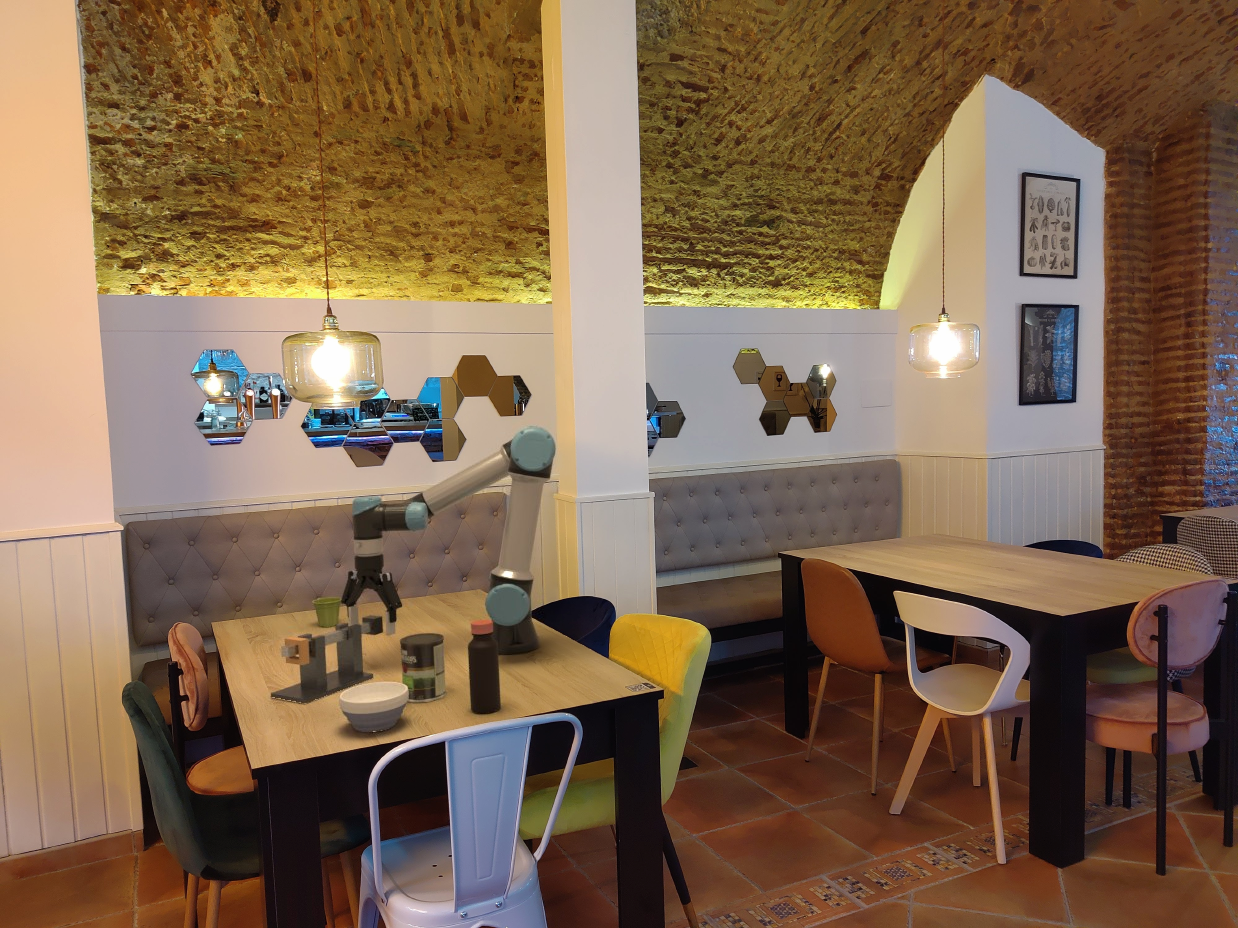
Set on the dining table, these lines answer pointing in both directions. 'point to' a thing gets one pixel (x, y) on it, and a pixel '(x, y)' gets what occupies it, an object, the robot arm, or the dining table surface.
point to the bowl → (374, 705)
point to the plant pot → (327, 611)
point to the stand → (315, 674)
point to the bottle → (483, 669)
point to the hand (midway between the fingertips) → (372, 632)
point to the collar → (302, 648)
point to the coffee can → (423, 666)
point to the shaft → (340, 634)
